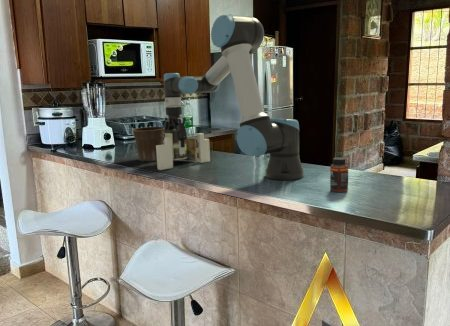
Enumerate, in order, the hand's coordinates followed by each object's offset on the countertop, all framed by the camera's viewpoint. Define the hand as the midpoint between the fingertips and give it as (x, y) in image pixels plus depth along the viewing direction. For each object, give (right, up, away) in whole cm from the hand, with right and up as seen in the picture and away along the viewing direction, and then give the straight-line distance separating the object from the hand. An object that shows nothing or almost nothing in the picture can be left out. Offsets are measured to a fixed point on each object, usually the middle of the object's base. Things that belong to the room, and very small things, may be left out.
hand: (176, 152), depth 203 cm
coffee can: (0, -3, +1) cm, 3 cm away
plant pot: (-15, -3, +14) cm, 20 cm away
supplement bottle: (+63, -15, -58) cm, 87 cm away
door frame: (+4, -6, -4) cm, 8 cm away
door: (+4, -3, +6) cm, 8 cm away
